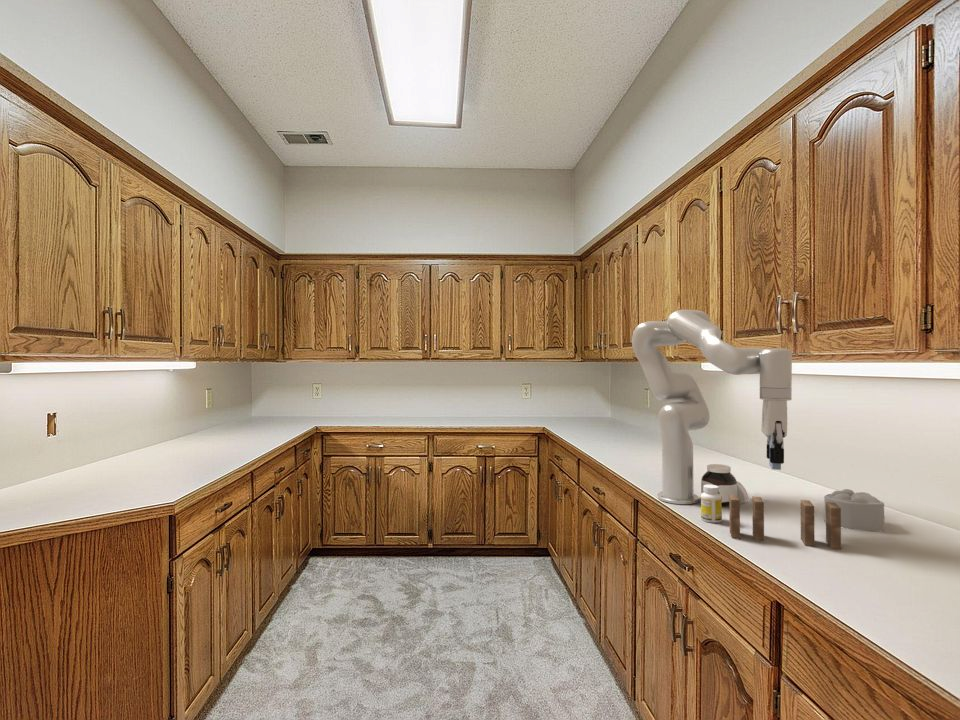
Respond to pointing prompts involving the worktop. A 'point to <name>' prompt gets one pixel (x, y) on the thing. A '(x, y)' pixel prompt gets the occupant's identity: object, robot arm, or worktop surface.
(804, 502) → the domino
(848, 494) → the lumpy-topped squat cylinder
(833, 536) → the domino
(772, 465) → the blue domino
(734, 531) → the domino
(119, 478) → the worktop surface
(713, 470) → the spread jar
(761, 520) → the domino
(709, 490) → the supplement bottle
